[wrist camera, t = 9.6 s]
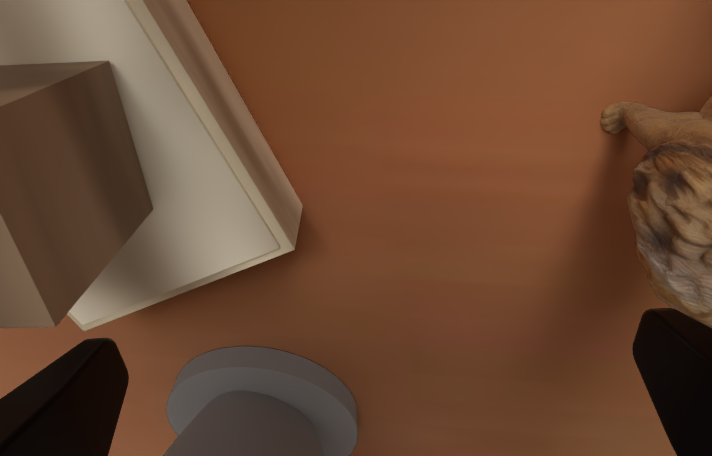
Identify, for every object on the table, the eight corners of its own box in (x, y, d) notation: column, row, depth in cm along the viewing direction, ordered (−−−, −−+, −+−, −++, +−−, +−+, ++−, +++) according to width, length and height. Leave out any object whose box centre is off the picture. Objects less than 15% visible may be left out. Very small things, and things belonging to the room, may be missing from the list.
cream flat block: (99, -163, 15) (17, -199, 11) (303, 201, 21) (294, 252, 18) (-128, -17, 17) (-260, -8, 13) (123, 274, 23) (81, 334, 20)
